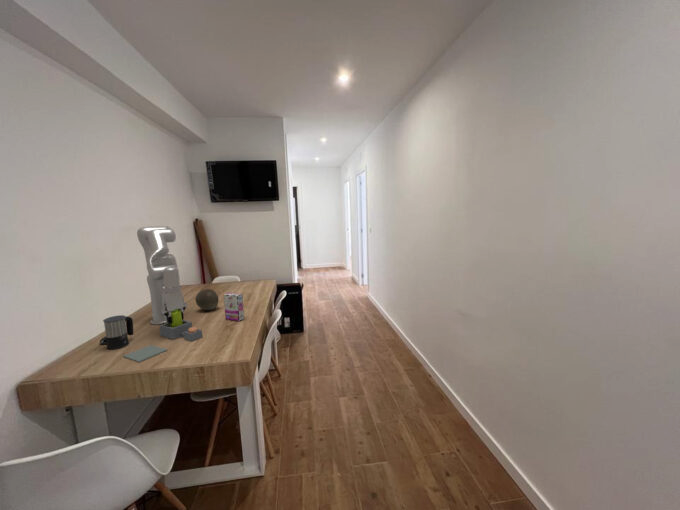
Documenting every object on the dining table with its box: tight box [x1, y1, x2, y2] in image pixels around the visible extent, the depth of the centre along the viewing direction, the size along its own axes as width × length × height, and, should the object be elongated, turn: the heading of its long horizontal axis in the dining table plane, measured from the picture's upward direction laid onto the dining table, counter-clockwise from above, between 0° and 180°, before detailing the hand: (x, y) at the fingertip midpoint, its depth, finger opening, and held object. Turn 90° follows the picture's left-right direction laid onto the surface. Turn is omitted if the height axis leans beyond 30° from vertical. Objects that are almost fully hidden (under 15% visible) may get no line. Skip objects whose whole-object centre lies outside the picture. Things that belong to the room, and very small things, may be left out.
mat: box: [122, 344, 168, 363], centre depth 141 cm, size 13×13×1 cm
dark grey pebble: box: [195, 288, 219, 311], centre depth 206 cm, size 14×14×15 cm
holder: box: [159, 319, 203, 342], centre depth 162 cm, size 23×11×6 cm, turn 63°
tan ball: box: [188, 326, 198, 333], centre depth 158 cm, size 4×4×3 cm
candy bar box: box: [223, 292, 245, 322], centre depth 186 cm, size 11×5×16 cm, turn 68°
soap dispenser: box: [170, 308, 183, 328], centre depth 163 cm, size 6×7×20 cm
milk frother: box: [99, 314, 134, 351], centre depth 152 cm, size 14×16×15 cm
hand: (175, 321), depth 164 cm, fingers closed on soap dispenser, 5 cm apart
